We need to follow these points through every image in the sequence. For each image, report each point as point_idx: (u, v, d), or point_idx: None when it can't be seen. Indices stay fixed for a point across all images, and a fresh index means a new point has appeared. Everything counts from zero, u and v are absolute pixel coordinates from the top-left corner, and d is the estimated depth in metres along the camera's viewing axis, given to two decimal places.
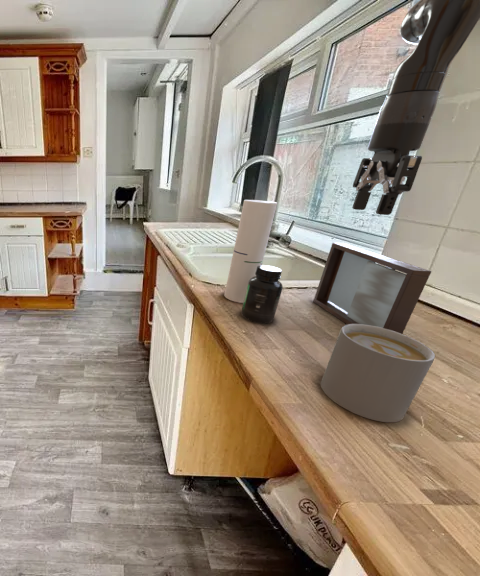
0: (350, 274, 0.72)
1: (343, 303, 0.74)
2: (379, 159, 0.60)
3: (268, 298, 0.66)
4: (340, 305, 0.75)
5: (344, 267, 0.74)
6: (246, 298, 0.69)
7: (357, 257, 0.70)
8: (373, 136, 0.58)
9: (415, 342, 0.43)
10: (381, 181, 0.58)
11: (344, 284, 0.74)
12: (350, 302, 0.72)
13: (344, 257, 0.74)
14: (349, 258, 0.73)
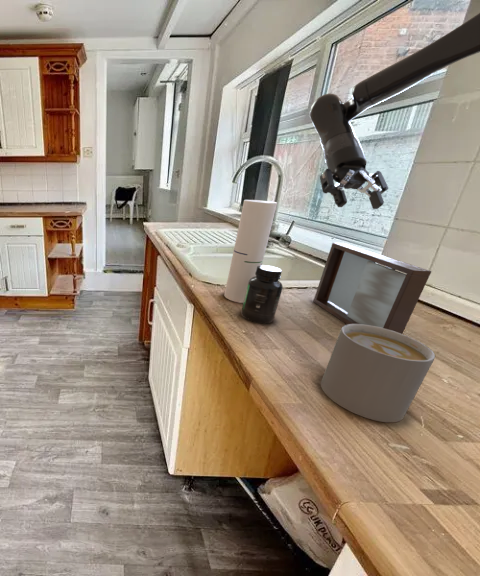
0: (350, 274, 0.72)
1: (343, 303, 0.74)
2: None
3: (268, 298, 0.66)
4: (340, 305, 0.75)
5: (344, 267, 0.74)
6: (246, 298, 0.69)
7: (357, 257, 0.70)
8: None
9: (415, 342, 0.43)
10: None
11: (344, 284, 0.74)
12: (350, 302, 0.72)
13: (344, 257, 0.74)
14: (349, 258, 0.73)
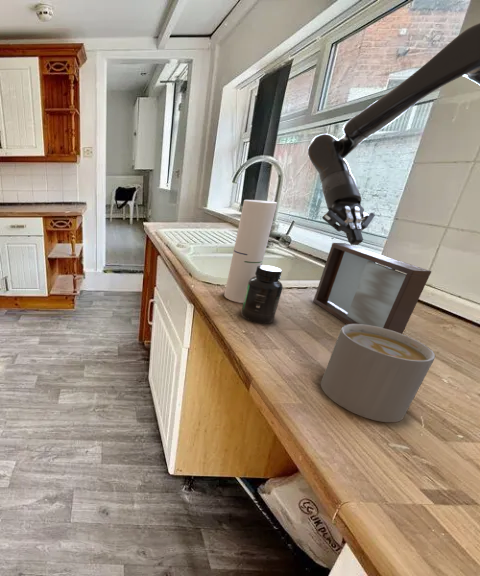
0: (350, 274, 0.72)
1: (343, 303, 0.74)
2: None
3: (268, 298, 0.66)
4: (340, 305, 0.75)
5: (344, 267, 0.74)
6: (246, 298, 0.69)
7: (357, 257, 0.70)
8: None
9: (415, 342, 0.43)
10: None
11: (344, 284, 0.74)
12: (350, 302, 0.72)
13: (344, 257, 0.74)
14: (349, 258, 0.73)
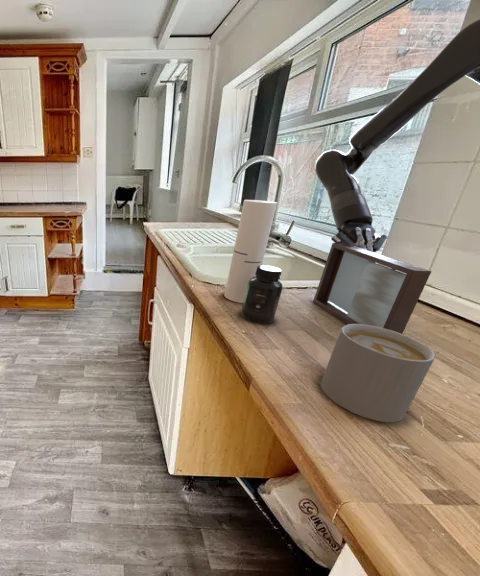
0: (350, 274, 0.72)
1: (343, 303, 0.74)
2: None
3: (268, 298, 0.66)
4: (340, 305, 0.75)
5: (344, 267, 0.74)
6: (246, 298, 0.69)
7: (357, 257, 0.70)
8: None
9: (415, 342, 0.43)
10: None
11: (344, 284, 0.74)
12: (350, 302, 0.72)
13: (344, 257, 0.74)
14: (349, 258, 0.73)
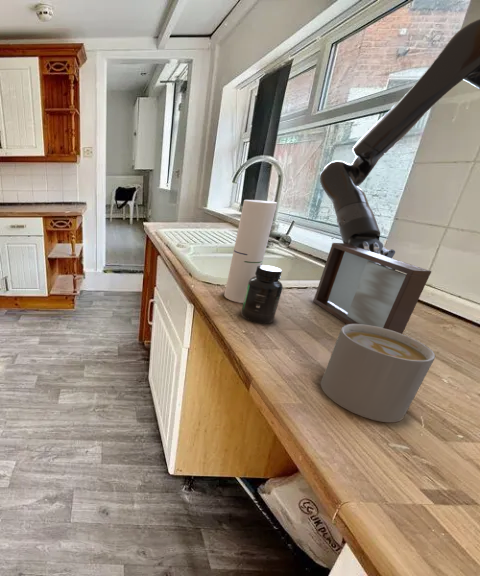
0: (350, 274, 0.72)
1: (343, 303, 0.74)
2: None
3: (268, 298, 0.66)
4: (340, 305, 0.75)
5: (344, 267, 0.74)
6: (246, 298, 0.69)
7: (357, 257, 0.70)
8: None
9: (415, 342, 0.43)
10: None
11: (344, 284, 0.74)
12: (350, 302, 0.72)
13: (344, 257, 0.74)
14: (349, 258, 0.73)
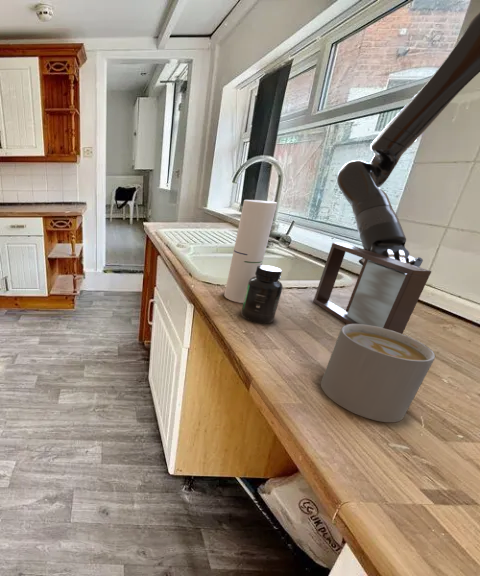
0: None
1: None
2: None
3: (268, 298, 0.66)
4: None
5: None
6: (246, 298, 0.69)
7: None
8: None
9: (415, 342, 0.43)
10: None
11: None
12: None
13: None
14: None
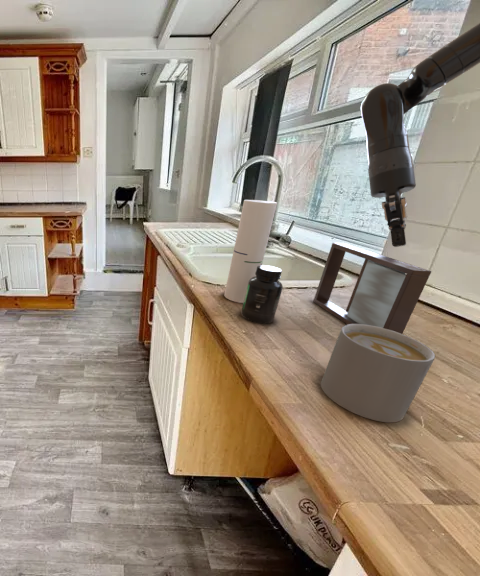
0: None
1: None
2: None
3: (268, 298, 0.66)
4: None
5: None
6: (246, 298, 0.69)
7: None
8: (370, 187, 0.74)
9: (415, 342, 0.43)
10: (385, 219, 0.71)
11: None
12: None
13: None
14: None
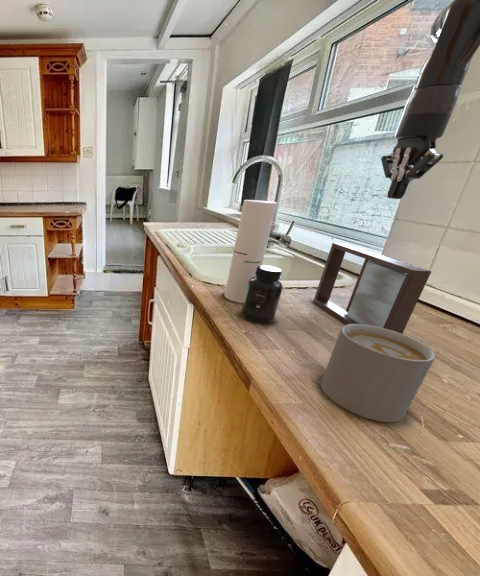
0: None
1: None
2: (405, 146, 0.68)
3: (268, 298, 0.66)
4: None
5: None
6: (246, 298, 0.69)
7: None
8: (403, 124, 0.66)
9: (415, 342, 0.43)
10: (400, 168, 0.68)
11: None
12: None
13: None
14: None
